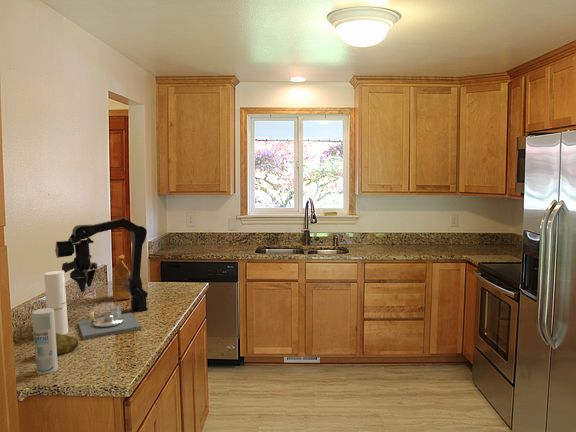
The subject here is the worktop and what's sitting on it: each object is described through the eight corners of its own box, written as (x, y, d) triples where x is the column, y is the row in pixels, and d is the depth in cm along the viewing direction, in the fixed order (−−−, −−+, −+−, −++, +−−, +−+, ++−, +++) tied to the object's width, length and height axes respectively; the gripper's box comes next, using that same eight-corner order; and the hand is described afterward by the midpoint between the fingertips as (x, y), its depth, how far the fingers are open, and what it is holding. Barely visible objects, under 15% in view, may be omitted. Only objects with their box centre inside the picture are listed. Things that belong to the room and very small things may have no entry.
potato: (75, 355, 170) (74, 333, 170) (36, 359, 167) (34, 337, 167) (79, 346, 178) (78, 326, 178) (42, 350, 175) (40, 329, 175)
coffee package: (134, 294, 254) (132, 253, 252) (132, 300, 242) (129, 257, 240) (114, 295, 252) (112, 254, 250) (111, 301, 240) (108, 258, 238)
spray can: (61, 365, 161) (57, 307, 159) (52, 373, 155) (48, 313, 153) (42, 366, 161) (37, 308, 159) (32, 374, 154) (27, 314, 153)
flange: (120, 314, 212) (120, 304, 211) (126, 323, 198) (126, 313, 198) (91, 319, 206) (90, 308, 206) (95, 329, 192) (94, 318, 192)
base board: (131, 315, 215) (130, 302, 215) (141, 329, 196) (140, 315, 195) (78, 324, 205) (77, 310, 205) (83, 339, 186) (82, 324, 185)
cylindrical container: (72, 331, 197) (67, 271, 194) (58, 336, 190) (54, 275, 188) (58, 329, 199) (54, 270, 197) (44, 335, 192) (39, 274, 190)
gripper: (70, 251, 217) (73, 285, 218) (55, 259, 198) (58, 296, 200) (96, 250, 218) (99, 283, 219) (83, 257, 199) (86, 294, 201)
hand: (85, 289), depth 210 cm, fingers open, 9 cm apart
